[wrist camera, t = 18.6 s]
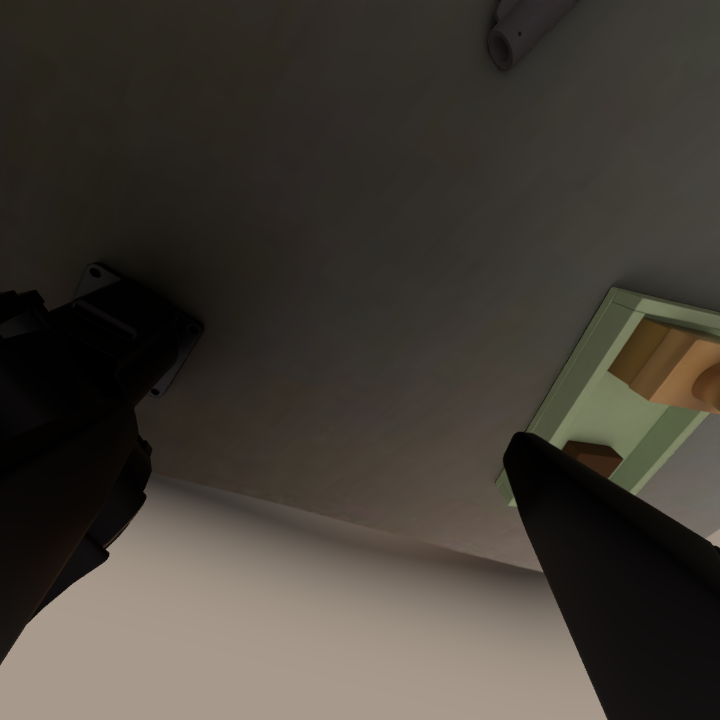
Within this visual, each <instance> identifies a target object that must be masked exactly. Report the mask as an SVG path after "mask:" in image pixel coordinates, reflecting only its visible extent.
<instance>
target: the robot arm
mask: <svg viewBox="0 0 720 720" xmlns="http://www.w3.org/2000/svg"><path fill="white" fill-rule="evenodd" d="M95 269H97V270H99V271H100V273H101V276H100V275H98V274H97V273H96V271H95ZM42 303H45V301H44V300H43V298H42V297H41V296H40V294H39V293H38V292H37V290H32V291H28V292H24V293H20V294H17V293H16V292H15V291H14V290H12V291H7V292H3V293H2V292H0V665H1V663H2V661H3V660H4V659H5V657H6V656H7V654H8V652H9V651H10V649H11V648H12V646H13V645H14V643H15V642H16V640H17V638H18V637H19V635H20V634H21V632H22V631H23V629H24V628H25V626H26V625H27V624H28V623H29V622H30V621H31V620H32V619H33V618H34V617H35V616H36V615H37V614H38V613H39V612H40V611H41V610H42V609H43V608H44V607H45V606H46V605H48V604H49V603H50V602H51V601H53V600H54V599H55V598H56V597H57V596H58V595H60V594H61V593H62V592H63V591H65V590H66V589H67V588H68V587H69V586H70V585H72V584H73V583H74V582H76V581H77V580H79V579H80V578H82V577H83V576H85V575H86V574H87V573H89V572H91V571H92V570H93V569H95V568H96V567H98V566H99V565H101V564H102V563H104V562H105V561H106V560H107V559H108V557H109V552H108V551H107V550H106V548H108V547H109V545H111V544H112V543H113V542H114V541H115V540H116V539H117V538H118V537H119V536H120V535H121V533H122V532H123V531H124V530H125V529H126V527H127V526H128V525H129V523H130V522H131V520H133V518H134V517H135V516H136V514H137V513H138V511H139V510H140V509H141V507H142V506H143V504H144V502H145V500H146V494H145V493H144V492H143V491H144V489H145V487H146V484H147V482H148V479H149V476H150V474H151V472H152V468H151V459H150V456H151V452H152V447H151V446H150V445H149V443H148V442H147V441H146V440H144V441H143V439H142V438H141V437H140V435H139V434H138V425H137V420H136V415H135V411H134V407H135V406H136V405H137V404H138V403H139V402H140V401H141V400H142V399H143V398H144V397H145V395H146V394H147V395H149V396H151V397H154V398H160V397H162V396H163V395H164V393H165V392H166V391H167V389H168V387H169V386H170V384H171V383H172V381H173V379H174V378H175V376H176V375H177V373H178V371H179V370H180V368H181V367H182V365H183V363H184V362H185V360H186V359H187V357H188V356H189V354H190V352H191V351H192V349H193V348H194V346H195V344H196V343H197V341H198V340H199V338H200V336H201V335H202V333H203V331H204V326H203V325H202V323H201V322H199V321H198V320H196V319H194V318H193V317H191V316H189V315H188V314H186V313H184V312H183V311H181V310H179V309H178V308H176V307H174V305H173V304H172V303H171V302H170V301H168V300H166V299H165V298H163V297H162V296H160V295H158V294H157V293H155V292H153V291H152V290H150V289H148V288H147V287H145V286H143V285H142V284H140V283H138V282H137V281H135V280H133V279H132V278H126V277H124V276H123V275H121V274H119V273H118V272H116V271H114V270H113V269H111V268H109V267H108V266H106V265H104V264H102V263H100V262H95V263H91V264H89V265H87V266H86V267H85V270H84V272H83V275H82V277H81V279H80V282H79V284H78V286H77V289H76V291H75V294H74V296H73V298H72V301H71V302H70V303H68V304H65V305H63V306H61V307H58V308H56V309H53V310H51V311H49V312H48V310H47V309H46V308H45V306H44V305H43V304H42ZM191 326H194V327H196V328H197V331H193V330H192V328H191ZM154 388H155V389H157V390H159V392H158V391H156V390H155V389H154ZM503 464H504V468H505V471H506V474H507V477H508V480H509V483H510V486H511V489H512V492H513V495H514V498H515V501H516V505H517V508H518V511H519V514H520V517H521V519H522V522H523V525H524V527H525V530H526V532H527V535H528V537H529V539H530V541H531V544H532V546H533V548H534V551H535V553H536V555H537V558H538V560H539V562H540V565H541V567H542V569H543V572H544V574H545V576H546V578H547V581H548V583H549V585H550V588H551V590H552V592H553V595H554V597H555V599H556V602H557V604H558V606H559V608H560V611H561V613H562V615H563V618H564V620H565V622H566V625H567V627H568V629H569V631H570V634H571V636H572V638H573V641H574V643H575V645H576V648H577V650H578V652H579V655H580V657H581V659H582V662H583V664H584V666H585V669H586V671H587V673H588V676H589V678H590V680H591V682H592V685H593V687H594V689H595V692H596V694H597V696H598V698H599V701H600V703H601V706H602V708H603V710H604V713H605V715H606V717H607V719H608V720H720V548H719V547H717V546H713V545H712V544H711V542H709V541H708V540H706V539H704V538H703V537H701V536H700V535H698V534H696V533H695V532H693V531H691V530H690V529H688V528H687V527H685V526H683V525H682V524H680V523H679V522H677V521H675V520H674V519H672V518H670V517H669V516H667V515H666V514H664V513H662V512H661V511H659V510H657V509H656V508H654V507H653V506H651V505H649V504H648V503H646V502H645V501H643V500H641V499H640V498H638V497H636V496H635V495H633V494H632V493H630V492H628V491H627V490H625V489H624V488H622V487H620V486H619V485H617V484H615V483H614V482H612V481H611V480H609V479H607V478H606V477H604V476H602V475H601V474H599V473H598V472H596V471H594V470H593V469H591V468H590V467H588V466H586V465H585V464H583V463H581V462H580V461H578V460H577V459H575V458H573V457H572V456H570V455H569V454H567V453H565V452H564V451H562V450H560V449H559V448H557V447H556V446H554V445H552V444H551V443H549V442H547V441H546V440H544V439H543V438H541V437H539V436H538V435H536V434H534V433H530V432H517V433H515V434H514V435H513V437H512V439H511V441H510V443H509V445H508V447H507V450H506V452H505V454H504V457H503Z"/></svg>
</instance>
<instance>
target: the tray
mask: <svg viewBox="0 0 720 720" xmlns="http://www.w3.org/2000/svg"><path fill="white" fill-rule="evenodd" d="M643 317H646V318H650V319H654V320H659V321H663V322H667V323H671V324H675V325H680V326H684V327H688V328H692V329H697V330H701V331H705V332H709V333H712V334H715V335H717V336H720V312H716V311H712V310H708V309H704V308H699V307H695V306H691V305H687V304H683V303H678V302H674V301H670V300H666V299H662V298H657V297H653V296H649V295H645V294H641V293H637V292H632V291H628V290H624V289H620V288H616V287H611V289H610V290H609V292H608V294H607V296H606V297H605V299H604V301H603V302H602V304H601V306H600V307H599V309H598V311H597V312H596V314H595V316H594V317H593V319H592V321H591V322H590V324H589V326H588V328H587V329H586V331H585V333H584V334H583V336H582V338H581V339H580V341H579V343H578V344H577V346H576V348H575V349H574V351H573V353H572V354H571V356H570V358H569V360H568V361H567V363H566V365H565V366H564V368H563V370H562V371H561V373H560V375H559V376H558V378H557V380H556V381H555V383H554V385H553V386H552V388H551V390H550V392H549V393H548V395H547V397H546V398H545V400H544V402H543V403H542V405H541V407H540V408H539V410H538V412H537V413H536V415H535V417H534V418H533V420H532V422H531V424H530V425H529V427H528V429H527V430H526V432H530V433H534V434H536V435H538V436H539V437H541V438H543V439H544V440H546V441H547V442H549V443H551V444H552V445H554V446H556V447H557V448H559V449H560V450H562V449H563V447H564V446H565V444H566V443H567V441H568V440H571V441H578V442H586V443H593V444H600V445H607V446H611V447H612V448H613V449H614V450H615V451H616V452H617V453H618V454H619V455H620V456H621V457H622V458H623V459H624V460H623V461H622V462H621V463H620V465H619V466H618V467H617V468H616V469H615V471H614V472H613V473H612V474H611V476H610V477H609V478H608V479H609V480H611V481H612V482H614V483H615V484H617V485H619V486H620V487H622V488H624V489H625V490H627V491H628V492H630V493H632V494H633V495H636V494H637V493H638V492H639V491H640V490H641V488H642V487H643V486H644V485H645V484H646V483H647V482H648V481H649V480H650V478H651V477H652V476H653V475H654V474H655V473H656V472H657V471H658V470H659V468H660V467H661V466H662V465H663V464H664V463H665V462H666V461H667V460H668V458H669V457H670V456H671V455H672V454H673V453H674V452H675V451H676V450H677V448H678V447H679V446H680V445H681V444H682V443H683V442H684V441H685V440H686V438H687V437H688V436H689V435H690V434H691V433H692V432H693V431H694V430H695V428H696V427H697V426H698V425H699V424H700V423H701V422H702V421H703V420H704V419H705V417H706V416H707V415H708V414H709V412H704V411H698V410H693V409H688V408H682V407H677V406H671V405H666V404H660V403H655V402H650V401H647V400H646V399H645V398H643V397H642V396H640V395H639V394H637V393H636V392H634V391H633V390H631V389H630V388H629V385H627V384H626V383H624V382H623V381H621V380H620V379H618V378H617V377H615V376H614V375H612V374H611V373H609V372H608V371H607V370H608V369H609V367H610V366H611V364H612V363H613V361H614V360H615V358H616V357H617V355H618V354H619V352H620V351H621V349H622V348H623V346H624V345H625V343H626V342H627V340H628V339H629V337H630V336H631V334H632V333H633V331H634V330H635V328H636V327H637V325H638V324H639V322H640V321H641V319H642V318H643ZM496 485H497V487H498V488H499V490H500V492H501V494H502V496H503V497H504V499H505V501H506V503H507V505H508V506H515V507H517V505H516V501H515V498H514V495H513V492H512V489H511V486H510V483H509V480H508V477H507V474H506V471H505V468H504V469H503V471H502V472H501V474H500V476H499V477H498V479H497V481H496Z"/></svg>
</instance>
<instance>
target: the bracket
mask: <svg viewBox="0 0 720 720" xmlns="http://www.w3.org/2000/svg"><path fill="white" fill-rule="evenodd" d="M577 1H578V0H500V1H499V3H498V5H497V8H496V10H495V12H494V18H495V20H496V21H497V25H496V26H495V27H494V28H493V29H492V30H491V31H490V33H489V35H488V48H489V52H490V54H491V56H492V59H493V60H494V62H495V63H496V65H497V66H498V67H500V68H501V69H503V70H508V69H510V68H511V67H512V66H513V65H514V64H515V63H516V62H517V61H518V60H519V59H520V58H521V57H522V56H523V55H524V54H525V53H526V52H527V51H528V50H529V49H530V48H531V47H532V46H533V45H534V44H535V43H536V42H537V41H538V40H539V39H540V38H541V37H542V36H543V35H544V34H545V33H546V32H547V31H548V30H549V29H550V28H551V27H552V26H553V25H554V24H555V23H556V22H557V21H558V20H559V19H560V18H561V17H562V16H563V15H564V14H565V13H566V12H567V11H568V10H569V9H570V8H571V7H572V6H573V5H574V4H575V3H576V2H577Z"/></svg>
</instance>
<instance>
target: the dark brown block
mask: <svg viewBox="0 0 720 720" xmlns="http://www.w3.org/2000/svg"><path fill="white" fill-rule="evenodd" d="M562 451H564V452H565V453H567V454H569V455H570V456H572V457H573V458H575V459H577V460H578V461H580V462H581V463H583V464H585V465H586V466H588V467H590V468H591V469H593V470H594V471H596V472H598V473H599V474H601V475H602V476H604V477H606V478H607V479H608V478H609V477H610V476H611V474H612V473H613V472H614V471H615V469H616V468H617V467H618V466H619V465H620V463H621V462H622V461H623V460H624V459H623V458H622V457H621V456H620V455H619V454H618V453H617V452H616V451H615V450H614V449H613V448H612V447H611V446H607V445H600V444H593V443H586V442H578V441H571V440H568V441H567V443H566V444H565V446H564V447H563V449H562Z"/></svg>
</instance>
